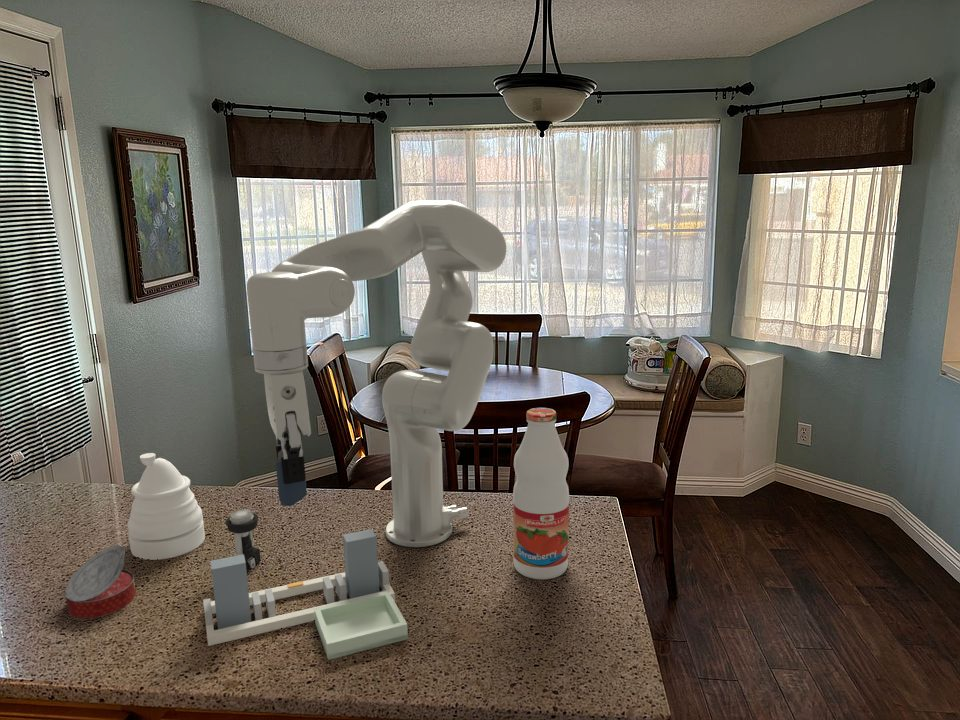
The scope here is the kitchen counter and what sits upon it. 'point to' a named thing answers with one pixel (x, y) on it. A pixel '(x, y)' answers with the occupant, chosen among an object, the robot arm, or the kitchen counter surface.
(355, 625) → the tray
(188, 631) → the kitchen counter surface
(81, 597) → the canned food
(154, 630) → the kitchen counter surface
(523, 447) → the fruit juice
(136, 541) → the honey pot
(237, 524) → the push button
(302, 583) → the rail
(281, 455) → the vaping device
